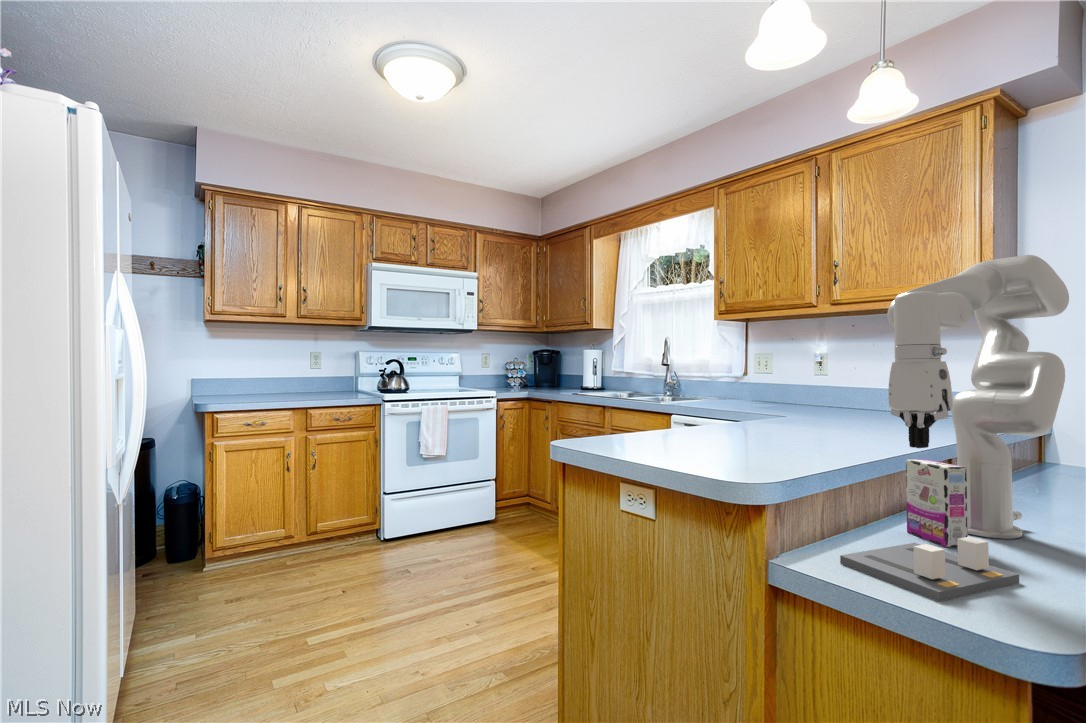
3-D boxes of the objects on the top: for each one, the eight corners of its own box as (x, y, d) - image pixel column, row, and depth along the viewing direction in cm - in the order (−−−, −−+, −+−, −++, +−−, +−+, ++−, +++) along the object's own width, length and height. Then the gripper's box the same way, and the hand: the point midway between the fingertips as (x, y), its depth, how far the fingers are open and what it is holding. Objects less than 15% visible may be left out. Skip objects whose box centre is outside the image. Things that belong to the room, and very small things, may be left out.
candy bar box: (969, 547, 110) (968, 467, 110) (947, 548, 110) (945, 467, 110) (926, 531, 121) (925, 458, 121) (905, 532, 121) (904, 458, 121)
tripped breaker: (969, 561, 96) (969, 536, 96) (988, 567, 94) (988, 541, 94) (957, 564, 95) (957, 538, 95) (976, 570, 92) (976, 543, 93)
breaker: (927, 570, 93) (926, 544, 93) (945, 576, 90) (944, 549, 90) (914, 572, 92) (913, 546, 92) (932, 579, 89) (931, 551, 89)
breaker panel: (914, 550, 109) (914, 542, 109) (1019, 583, 92) (1019, 573, 92) (840, 563, 102) (840, 554, 102) (939, 601, 85) (939, 591, 85)
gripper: (971, 353, 101) (972, 451, 101) (894, 355, 115) (896, 441, 115) (943, 353, 99) (945, 454, 98) (869, 355, 113) (870, 443, 112)
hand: (919, 447), depth 107 cm, fingers closed
